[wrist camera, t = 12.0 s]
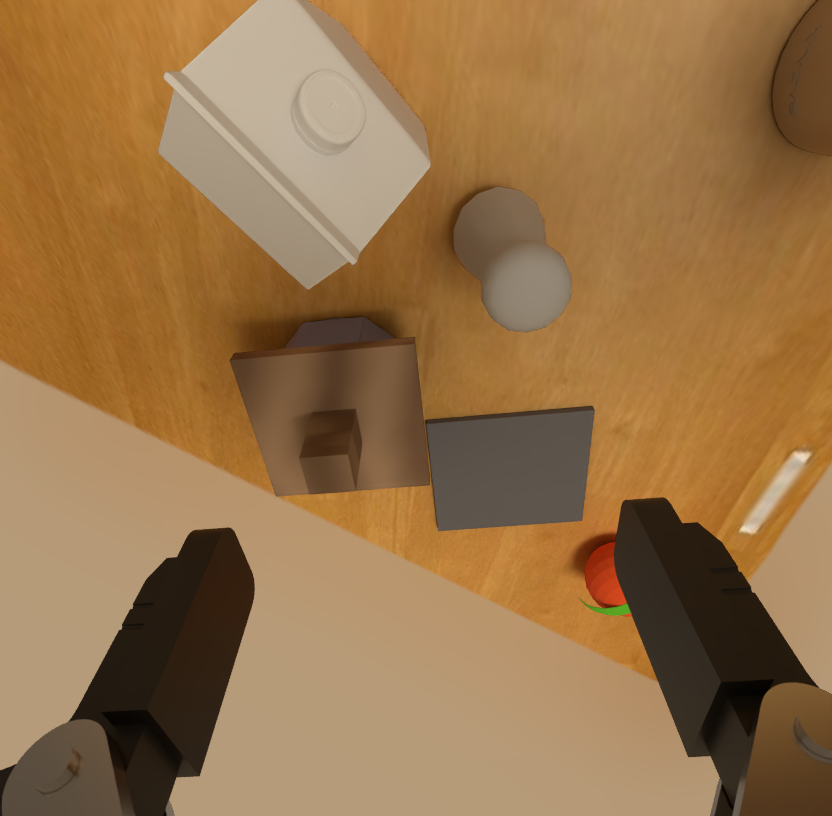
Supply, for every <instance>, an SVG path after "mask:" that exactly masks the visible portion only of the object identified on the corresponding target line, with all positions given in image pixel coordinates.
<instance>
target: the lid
mask: <svg viewBox="0 0 832 816" xmlns="http://www.w3.org/2000/svg"><path fill="white" fill-rule="evenodd" d="M230 363H231V366H232V368H233V371H234V374H235V377H236V380H237V383H238V386H239V389H240V392H241V395H242V398H243V401H244V404H245V407H246V410H247V413H248V415H249V418H250V421H251V424H252V427H253V430H254V433H255V436H256V439H257V442H258V445H259V448H260V451H261V454H262V457H263V460H264V463H265V465H266V468H267V471H268V474H269V477H270V480H271V483H272V486H273V489H274V492H275V495H276V496H289V495H303V494H323V493H337V492H350V491H358V490H371V489H385V488H399V487H413V486H426V485H430V474H429V465H428V456H427V447H426V438H425V428H424V419H423V410H422V401H421V391H420V382H419V373H418V364H417V355H416V345H415V337H411V338H399V339H388V340H377V341H365V342H354V343H343V344H332V345H320V346H309V347H298V348H286V349H275V350H264V351H253V352H241V353H234V354H233V356H232V358H231V359H230Z"/></svg>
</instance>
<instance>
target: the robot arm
mask: <svg viewBox="0 0 832 816" xmlns="http://www.w3.org/2000/svg"><path fill="white" fill-rule="evenodd" d="M772 96H773V112H774V115H775V119H776V122H777V126H778V127H779V129H780V130H781V132H782V133H783V135H784V137H785V138H786V139H787V140H789V141H790V142H791V143H792V144H793V145H795V146H796V147H798V148H801V149H803V150H806V151H808V152H813V153H818V154H823V155H828V156H832V0H818V1H817V2H816V3H815V4H814V6H813V7H812V8H811V9H810V10H809V11H808V12H807V13H806V15H805V16H804V17H803V19H802V20H801V22H800V23H799V25H798V26H797V27H796V29H795V30H794V32H793V33H792V35H791V37H790V39H789V41H788V43H787V45H786V47H785V49H784V51H783V53H782V56H781V59H780V62H779V65H778V68H777V71H776V74H775V80H774V86H773V93H772ZM614 565H615V571H616V575H617V579H618V582H619V584H620V587H621V589H622V592H623V594H624V597H625V599H626V602H627V604H628V607H629V609H630V612H631V614H632V617H633V619H634V622H635V624H636V627H637V629H638V632H639V635H640V637H641V640H642V642H643V645H644V647H645V650H646V652H647V655H648V657H649V660H650V662H651V665H652V667H653V670H654V672H655V675H656V677H657V680H658V682H659V685H660V687H661V689H662V692H663V694H664V697H665V700H666V702H667V705H668V707H669V710H670V712H671V715H672V717H673V720H674V722H675V725H676V727H677V730H678V732H679V735H680V737H681V740H682V742H683V745H684V747H685V750H686V752H687V755H688V757H700V756H711V758H712V760H713V763H714V765H715V767H716V770H717V772H718V774H719V777H720V779H719V782H718V785H717V789H716V793H715V797H714V802H713V806H712V810H711V814H710V816H832V694H831V693H829V692H827V691H825V690H822V689H820V688H819V687H818V686H817V685H816V684H815V682H814V681H813V680H812V679H811V677H810V676H809V675H808V673H807V672H806V671H805V669H804V668H803V666H802V664H801V663H800V661H799V660H798V658H797V657H796V655H795V654H794V652H793V651H792V649H791V648H790V646H789V645H788V643H787V641H786V640H785V639H784V637H783V635H782V634H781V632H780V631H779V629H778V628H777V626H776V625H775V623H774V622H773V620H772V618H771V617H770V615H769V614H768V612H767V611H766V609H765V608H764V606H763V605H762V603H761V602H760V600H759V599H758V597H757V595H756V594H755V593H753V592H752V591H751V586H750V585H749V583H748V582H747V580H746V579H745V577H744V576H743V574H742V572H739V571H738V566H737V565H736V563H735V562H734V560H733V559H732V557H731V556H730V554H729V553H728V551H727V549H726V548H725V546H724V545H723V543H722V542H721V541H720V540H718V539H717V538H716V537H715V536H713V535H712V534H711V533H710V532H708V531H707V530H706V529H705V528H704V527H702V526H701V525H700V524H699V523H697V522H696V523H682V522H681V520H680V519H679V517H678V515H677V514H676V512H675V510H674V509H673V507H672V505H671V504H670V502H669V501H668V500H667V499H666V498H663V497H661V498H647V499H633V500H625V501H623V503H622V506H621V511H620V517H619V523H618V529H617V535H616V541H615V547H614ZM254 590H255V588H254V578H253V574H252V571H251V569H250V566H249V564H248V562H247V560H246V557H245V555H244V552H243V550H242V548H241V546H240V543H239V541H238V539H237V536H236V534H235V532H234V531H233V530H232V529H231V528H217V529H203V530H194V531H192V532H191V533H190V534H189V535H188V536H187V538H186V540H185V542H184V544H183V546H182V548H181V550H180V552H179V554H178V556H177V557H174V558H166V560H165V561H164V562H163V563H162V564H161V565H160V566H159V567H158V568H157V569H156V570H155V571H154V572H153V573H152V574H151V575H150V576H149V577H148V578H147V579H146V581H145V583H144V584H143V586H142V588H141V590H140V592H139V594H138V596H137V598H136V599H135V601H134V603H133V609H130V611H129V613H128V614H127V616H126V618H125V620H124V622H123V624H122V630H119V631H118V633H117V635H116V637H115V639H114V641H113V642H112V645H111V646H110V648H109V650H108V652H107V654H106V656H105V658H104V659H103V661H102V663H101V665H100V667H99V669H98V671H97V673H96V674H95V676H94V678H93V680H92V682H91V684H90V686H89V687H88V690H87V691H86V693H85V695H84V697H83V699H82V701H81V702H80V704H79V706H78V708H77V710H76V711H75V713H74V715H73V716H72V718H71V719H70V720H69V722H67V723H65V724H62V725H60V726H58V727H56V728H55V729H53V730H51V731H50V732H48V733H47V734H45V735H44V736H43V737H41V738H40V739H39V740H38V741H37V742H35V743H34V744H33V745H32V746H31V747H30V748H29V749H28V750H27V751H26V752H25V754H24V755H23V756H22V757H21V758H20V760H19V761H18V763H17V764H15V765H13V766H11V767H8V768H6V769H3V770H0V816H174V812H173V808H172V805H171V803H170V801H169V797H170V795H171V792H172V789H173V786H174V783H175V780H176V777H193V776H200V773H201V770H202V767H203V763H204V760H205V757H206V754H207V750H208V747H209V744H210V740H211V737H212V734H213V731H214V728H215V724H216V721H217V718H218V715H219V711H220V708H221V705H222V701H223V698H224V695H225V692H226V688H227V685H228V682H229V679H230V676H231V672H232V669H233V666H234V662H235V659H236V656H237V653H238V650H239V646H240V643H241V640H242V637H243V633H244V630H245V627H246V624H247V620H248V617H249V614H250V610H251V607H252V604H253V600H254Z"/></svg>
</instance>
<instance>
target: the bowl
mask: <svg viewBox="0 0 832 816" xmlns="http://www.w3.org/2000/svg"><path fill="white" fill-rule="evenodd" d="M388 339H396V338H394V337H393V336H392V335H391V334H390V333H388V332H387V331H385V330H384V329H382V328H380V327H378V326H377V325H375V324H374V323H373V322H371V321H370V320H368V319H367V318H366V317H356V318H333V319H326V320H323V321H314V322H304V323H302V325H301V326H300V327H299V329H298V330H297V331H296V333H295V334H294V335H293V337H292V338H291V339H290V341H289V342H288V343H287V345H286V346H285V347H284V349H286V348H298V347H309V346H320V345H332V344H343V343H354V342H365V341H377V340H388Z"/></svg>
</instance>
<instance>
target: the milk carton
mask: <svg viewBox="0 0 832 816" xmlns="http://www.w3.org/2000/svg"><path fill="white" fill-rule="evenodd" d="M163 77H164V79H165V80H166V81H167V82H168V83H169V84H170V85H171V86H172V87H173V88H174V92H173V96H172V100H171V104H170V107H169V111H168V115H167V119H166V123H165V127H164V130H163V134H162V138H161V142H160V146H159V150H158V153H159V154H160V155H161V156H162V157H163V158H164V159H165V160H166V161H167V162H168V163H169V164H170V165H172V166H173V167H174V168H175V169H176V170H177V171H178V172H179V173H180V174H181V175H182V176H183V177H185V178H186V179H187V180H188V181H189V182H190V183H191V184H192V185H193V186H194V187H195V188H197V189H198V190H199V191H200V192H201V193H202V194H203V195H204V196H205V197H206V198H207V199H209V200H210V201H211V202H212V203H213V204H214V205H215V206H216V207H217V208H218V209H219V210H221V211H222V212H223V213H224V214H225V215H226V216H227V217H228V218H229V219H230V220H232V221H233V222H234V223H235V224H236V225H237V226H238V227H239V228H240V229H241V230H242V231H244V232H245V233H246V234H247V235H248V236H249V237H250V238H251V239H252V240H253V241H254V242H256V243H257V244H258V245H259V246H260V247H261V248H262V249H263V250H264V251H265V252H266V253H268V254H269V255H270V256H271V257H272V258H273V259H274V260H275V261H276V262H277V263H279V264H280V265H281V266H282V267H283V268H284V269H285V270H286V271H287V272H288V273H289V274H291V275H292V276H293V277H294V278H295V279H296V280H297V281H298V282H299V283H301V284H302V285H303V286H304V287H305V288H306V289H308V290H309V289H310V288H312V287H313V286H315V285H316V284H317V283H319V282H320V281H322V280H323V279H325V278H326V277H327V276H329V275H330V274H332V273H333V272H334V271H336V270H337V269H339V268H340V267H342V266H343V265H344V264H346V263H347V262H350V263H351V264H352V265H354V264H355V263H356V262H357V261H358V258H359V255H360V252H361V251H362V250H363V249H364V247H365V246H366V245H367V244H368V242H369V241H370V240H371V239H372V238H373V236H374V235H375V234H376V233H377V232H378V230H379V229H380V228H381V227H382V225H383V224H384V223H385V222H386V221H387V219H388V218H389V217H390V216H391V214H392V213H393V212H394V211H395V210H396V208H397V207H398V206H399V205H400V203H401V202H402V201H403V200H404V199H405V197H406V196H407V195H408V194H409V192H410V191H411V190H412V189H413V188H414V186H415V185H416V184H417V183H418V181H419V180H420V179H421V178H422V177H423V175H424V174H425V173H426V172H427V170H428V169H429V168H430V167H431V166H430V164H431V163H430V155H429V148H428V142H427V136H426V130H425V127H424V125H423V123H422V122H421V121H420V120H419V118H418V117H417V116H416V115H415V113H414V112H413V111H412V110H411V108H410V107H409V106H408V105H407V103H406V102H405V101H404V100H403V98H402V97H401V96H400V95H399V93H398V92H397V91H396V90H395V89H394V87H393V86H392V85H391V84H390V82H389V81H388V80H387V79H386V77H385V76H384V75H383V74H382V72H381V71H380V70H379V69H378V68H377V66H376V65H375V64H374V63H373V61H372V60H371V59H370V58H369V56H368V55H367V54H366V53H365V51H364V50H363V49H362V48H361V46H360V45H359V44H358V43H357V42H356V40H355V39H354V38H353V37H352V35H351V34H350V33H349V32H348V31H347V29H346V28H345V27H344V26H343V25H342V24H341V23H340V22H338V21H337V20H335V19H334V18H332V17H331V16H329V15H328V14H326V13H325V12H323V11H322V10H320V9H319V8H317V7H316V6H315V5H313V4H312V3H310V2H309V1H307V0H258V1H257V2H256V3H254V4H253V5H252V6H251V7H250V8H249V9H248V10H247V11H246V12H245V13H244V14H242V15H241V16H240V17H239V18H238V19H237V20H236V21H235V22H234V23H233V24H232V25H230V26H229V27H228V28H227V29H226V30H225V31H224V32H223V33H222V34H221V35H220V36H218V37H217V38H216V39H215V40H214V41H213V42H212V43H211V44H210V45H209V46H208V47H206V48H205V49H204V50H203V51H202V52H201V53H200V54H199V55H198V56H197V57H196V58H194V59H193V60H192V61H191V62H190V63H189V64H188V65H187V66H186V67H185V68H184V69H182V70H181V71H180V72H178V71H166V72H165V74H164V76H163Z"/></svg>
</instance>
